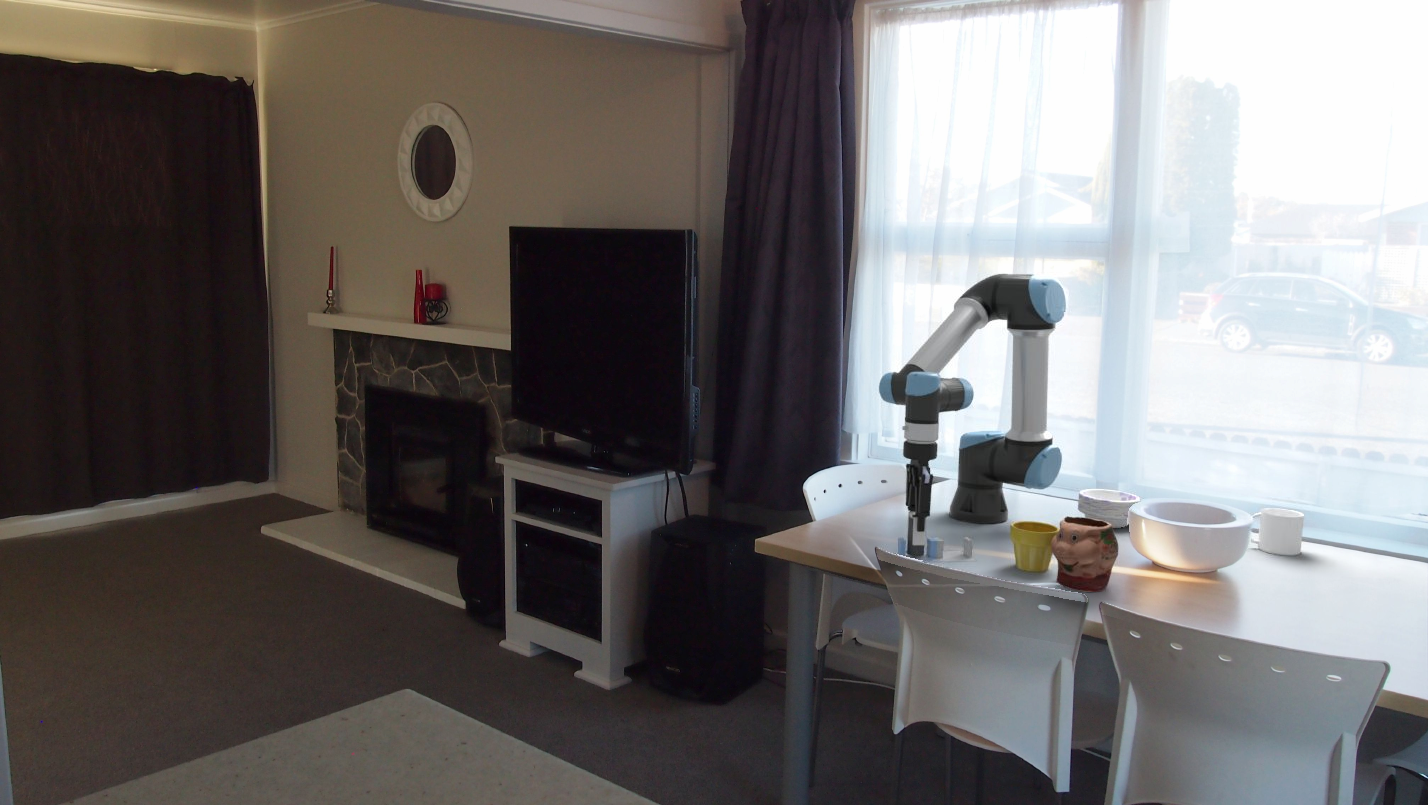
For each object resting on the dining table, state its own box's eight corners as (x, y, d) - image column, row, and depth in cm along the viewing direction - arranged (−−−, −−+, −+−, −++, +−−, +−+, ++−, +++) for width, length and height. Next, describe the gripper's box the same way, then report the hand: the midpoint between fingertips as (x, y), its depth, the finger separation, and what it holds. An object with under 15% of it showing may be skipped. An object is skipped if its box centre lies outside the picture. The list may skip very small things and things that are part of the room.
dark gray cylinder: (921, 551, 235) (922, 512, 233) (925, 556, 231) (927, 516, 230) (904, 551, 234) (906, 512, 233) (909, 556, 230) (911, 516, 229)
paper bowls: (1151, 526, 265) (1153, 496, 264) (1115, 534, 257) (1117, 503, 256) (1100, 514, 278) (1102, 485, 277) (1064, 521, 269) (1066, 492, 268)
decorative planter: (1078, 568, 227) (1082, 507, 225) (1133, 581, 218) (1137, 517, 217) (1035, 587, 213) (1039, 522, 211) (1091, 601, 204) (1096, 534, 202)
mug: (1303, 549, 245) (1306, 512, 244) (1297, 558, 238) (1301, 519, 237) (1247, 541, 252) (1250, 504, 251) (1240, 549, 245) (1244, 511, 244)
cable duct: (965, 553, 238) (965, 534, 237) (976, 563, 230) (977, 543, 229) (893, 553, 236) (894, 534, 236) (902, 563, 228) (903, 544, 228)
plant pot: (1057, 565, 229) (1059, 523, 228) (1056, 578, 219) (1059, 534, 218) (1009, 560, 232) (1011, 518, 231) (1006, 573, 223) (1009, 529, 221)
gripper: (894, 434, 237) (890, 532, 240) (914, 447, 220) (909, 552, 224) (926, 434, 238) (921, 532, 241) (948, 447, 221) (943, 552, 224)
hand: (915, 541), depth 232 cm, fingers closed on dark gray cylinder, 4 cm apart
